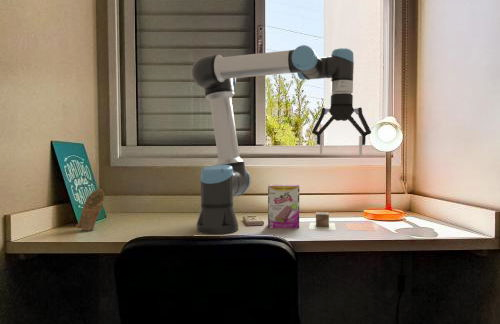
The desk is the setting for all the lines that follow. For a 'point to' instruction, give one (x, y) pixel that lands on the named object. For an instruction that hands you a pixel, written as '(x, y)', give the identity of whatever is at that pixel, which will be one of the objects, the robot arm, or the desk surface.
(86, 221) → the figurine
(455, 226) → the desk surface
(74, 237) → the desk surface
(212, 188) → the robot arm
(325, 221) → the walnut block
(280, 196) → the candy bar box
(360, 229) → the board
